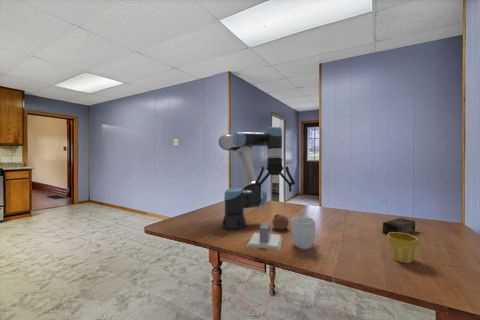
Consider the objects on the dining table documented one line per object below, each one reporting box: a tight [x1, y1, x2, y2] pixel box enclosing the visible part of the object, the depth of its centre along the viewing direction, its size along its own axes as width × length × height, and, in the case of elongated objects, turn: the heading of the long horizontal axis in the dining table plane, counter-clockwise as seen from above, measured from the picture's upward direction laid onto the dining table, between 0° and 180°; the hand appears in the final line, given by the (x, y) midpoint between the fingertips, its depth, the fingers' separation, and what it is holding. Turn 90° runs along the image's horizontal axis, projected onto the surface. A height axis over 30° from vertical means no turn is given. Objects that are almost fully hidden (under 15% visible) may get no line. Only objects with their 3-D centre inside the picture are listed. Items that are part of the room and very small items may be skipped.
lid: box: [248, 221, 282, 250], centre depth 111 cm, size 14×14×8 cm
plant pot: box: [386, 232, 419, 264], centre depth 91 cm, size 10×10×10 cm
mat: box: [246, 233, 283, 251], centre depth 111 cm, size 16×16×1 cm
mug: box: [290, 216, 316, 250], centre depth 106 cm, size 15×11×13 cm
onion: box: [272, 213, 290, 231], centre depth 128 cm, size 10×9×10 cm
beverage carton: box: [382, 217, 416, 235], centre depth 121 cm, size 8×19×7 cm, turn 118°
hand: (274, 198), depth 114 cm, fingers open, 13 cm apart
